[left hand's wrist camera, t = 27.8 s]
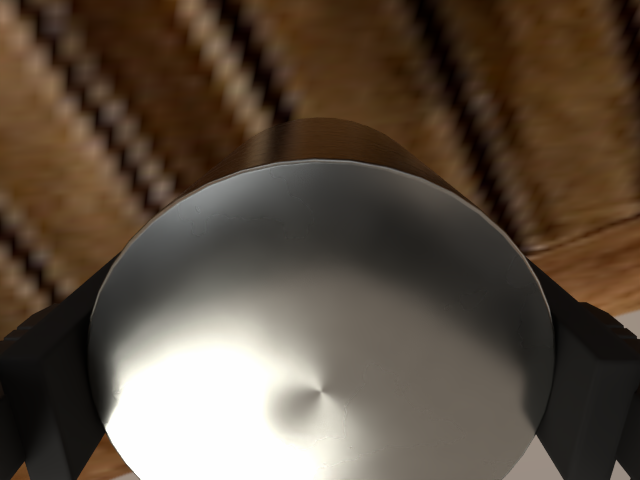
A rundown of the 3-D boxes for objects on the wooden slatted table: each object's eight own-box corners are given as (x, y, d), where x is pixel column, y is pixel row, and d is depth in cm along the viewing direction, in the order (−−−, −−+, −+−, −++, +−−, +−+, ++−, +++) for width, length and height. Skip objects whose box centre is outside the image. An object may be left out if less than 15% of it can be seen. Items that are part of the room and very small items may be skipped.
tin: (452, 113, 14) (601, 150, 7) (434, 345, 18) (523, 548, 10) (182, 121, 15) (30, 166, 7) (212, 350, 18) (130, 555, 10)
